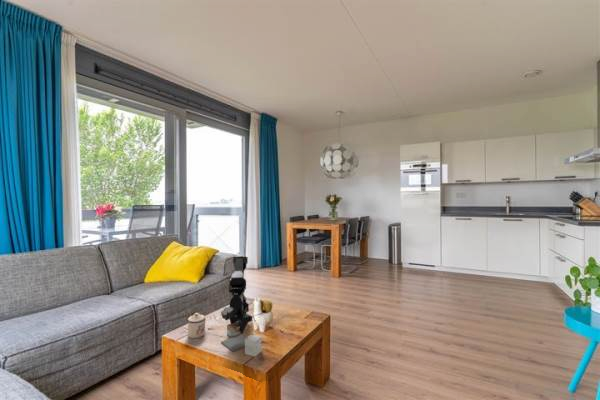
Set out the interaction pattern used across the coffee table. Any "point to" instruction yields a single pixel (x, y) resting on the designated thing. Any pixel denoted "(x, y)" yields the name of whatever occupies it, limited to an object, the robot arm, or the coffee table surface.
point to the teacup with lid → (196, 326)
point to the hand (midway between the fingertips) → (237, 331)
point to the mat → (235, 342)
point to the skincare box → (253, 345)
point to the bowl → (231, 333)
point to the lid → (235, 327)
